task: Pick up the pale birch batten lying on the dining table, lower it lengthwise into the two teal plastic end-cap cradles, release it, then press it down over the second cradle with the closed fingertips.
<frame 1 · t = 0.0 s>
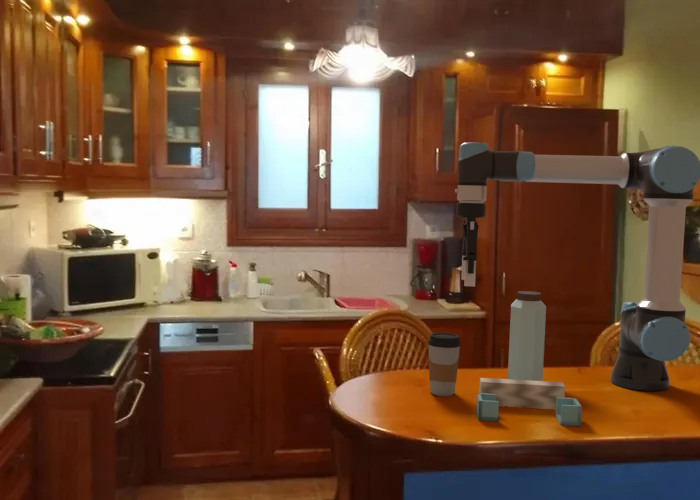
hand: (467, 283, 191), 28 cm above the counter, fingers open, 13 cm apart
slat: (520, 405, 178), on the counter
coffee cup: (442, 393, 187), on the counter
end caps: (527, 418, 167), on the counter
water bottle: (524, 383, 199), on the counter
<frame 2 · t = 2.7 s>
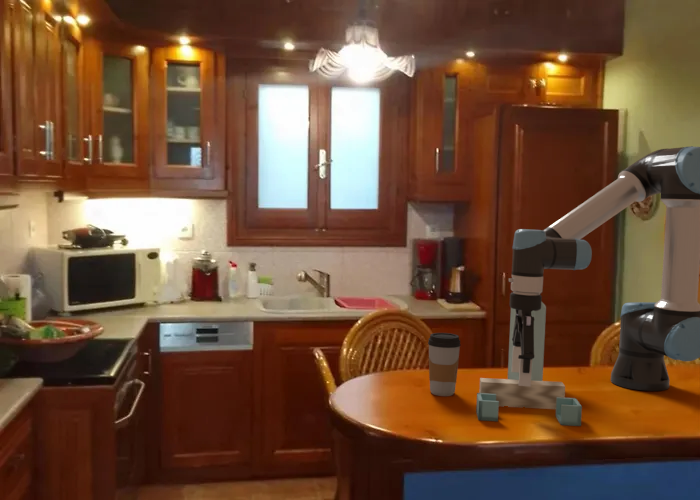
hand: (520, 378, 177), 7 cm above the counter, fingers open, 13 cm apart
nothing on the counter moved.
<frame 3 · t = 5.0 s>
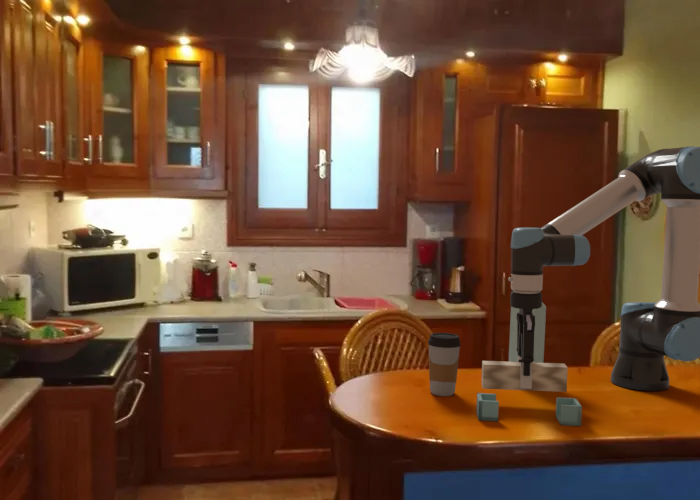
hand: (524, 385, 178), 5 cm above the counter, fingers closed on slat, 4 cm apart
slat: (523, 388, 178), point 4 cm above the counter, touching gripper
everything else where it was.
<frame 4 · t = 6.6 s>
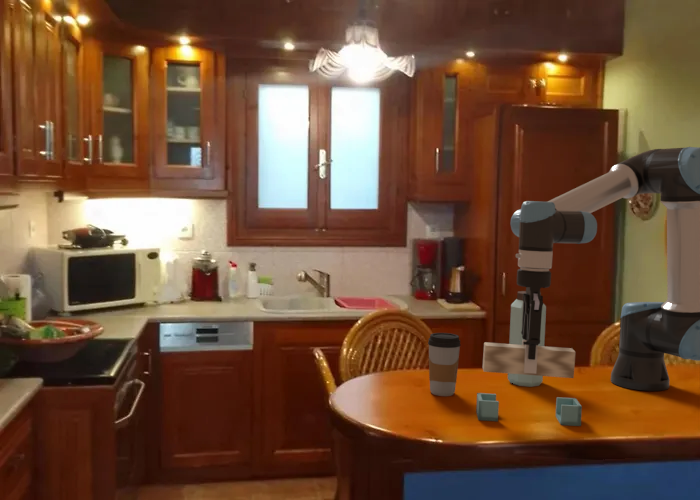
hand: (528, 370, 166), 11 cm above the counter, fingers closed on slat, 4 cm apart
slat: (527, 372, 166), point 11 cm above the counter, touching gripper
everything else where it was.
when the fingers open (1 cm above the counter, at t = 8.2 s): slat stays where it is, resting on end caps.
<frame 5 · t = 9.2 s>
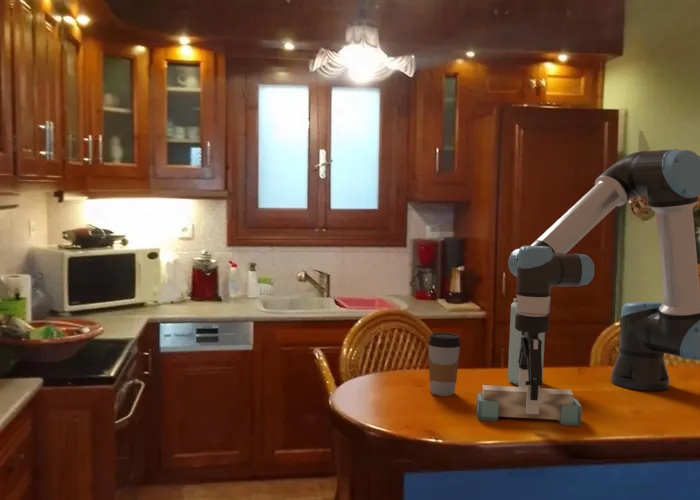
hand: (528, 404, 167), 3 cm above the counter, fingers open, 13 cm apart
slat: (525, 415, 167), point 1 cm above the counter, touching end caps
everything else where it was.
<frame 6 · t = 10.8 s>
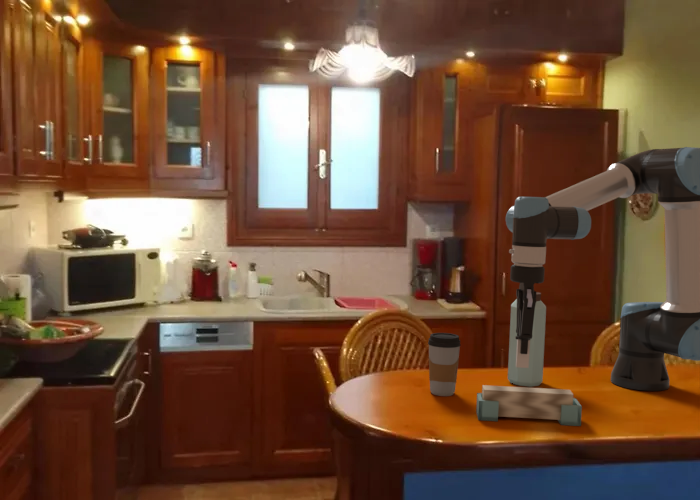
hand: (522, 366, 166), 12 cm above the counter, fingers closed
nothing on the counter moved.
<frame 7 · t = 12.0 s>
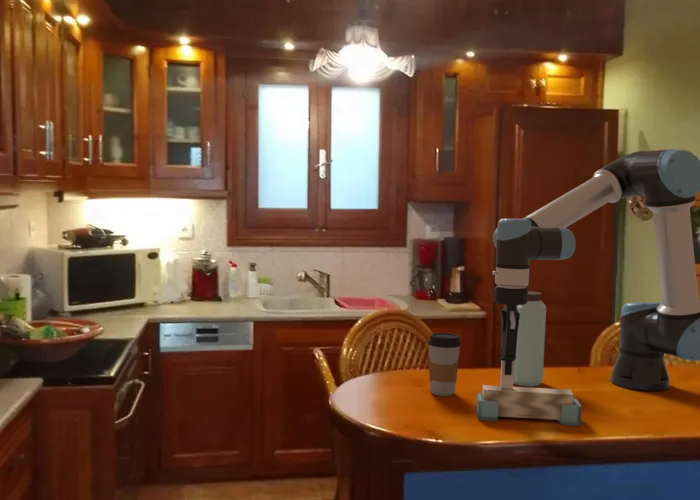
hand: (506, 387, 167), 7 cm above the counter, fingers closed
slat: (525, 415, 167), point 1 cm above the counter, touching end caps, gripper
everything else where it was.
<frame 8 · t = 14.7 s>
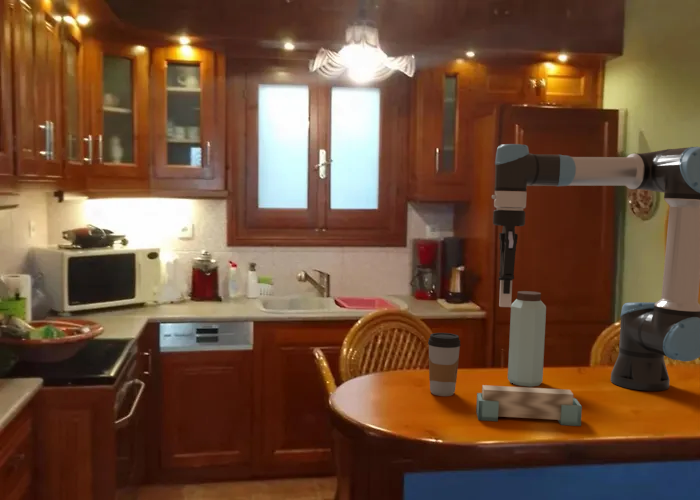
hand: (505, 306, 176), 24 cm above the counter, fingers closed
slat: (525, 415, 167), point 1 cm above the counter, touching end caps
everything else where it was.
at the end: slat 0.3 cm off-centre on the end caps, point 0.8 cm above the end caps's base; slat tilted 0°; the gripper is holding nothing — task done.
